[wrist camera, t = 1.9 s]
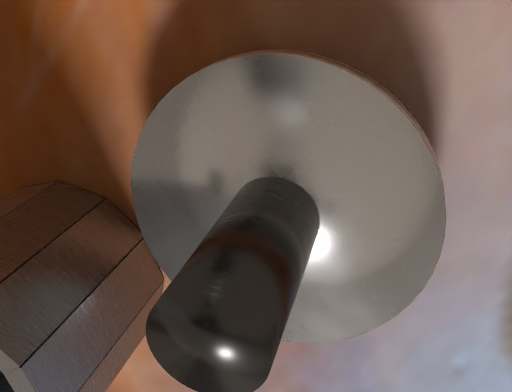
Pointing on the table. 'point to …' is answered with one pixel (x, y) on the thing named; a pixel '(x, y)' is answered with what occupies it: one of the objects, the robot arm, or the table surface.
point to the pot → (70, 289)
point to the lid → (280, 212)
